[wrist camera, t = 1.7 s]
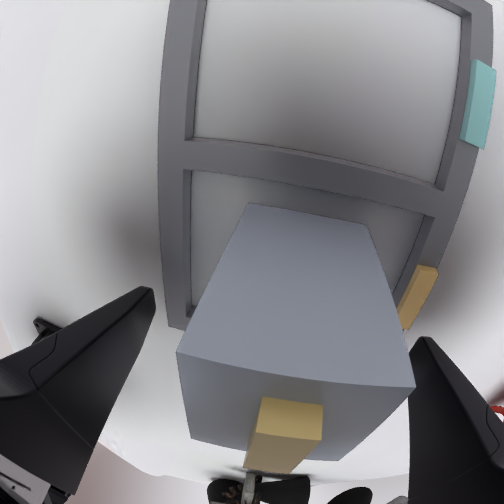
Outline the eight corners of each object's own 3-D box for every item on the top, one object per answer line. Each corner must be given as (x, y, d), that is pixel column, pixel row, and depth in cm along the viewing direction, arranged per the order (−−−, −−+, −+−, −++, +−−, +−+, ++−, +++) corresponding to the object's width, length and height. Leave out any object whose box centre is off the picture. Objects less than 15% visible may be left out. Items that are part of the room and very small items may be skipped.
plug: (238, 295, 13) (183, 460, 6) (248, 202, 11) (159, 387, 4) (335, 313, 13) (336, 483, 6) (366, 225, 10) (422, 422, 4)
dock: (174, 315, 14) (165, 331, 13) (190, -51, 5) (177, -63, 4) (379, 352, 13) (382, 370, 12) (481, 8, 4) (497, 3, 3)
